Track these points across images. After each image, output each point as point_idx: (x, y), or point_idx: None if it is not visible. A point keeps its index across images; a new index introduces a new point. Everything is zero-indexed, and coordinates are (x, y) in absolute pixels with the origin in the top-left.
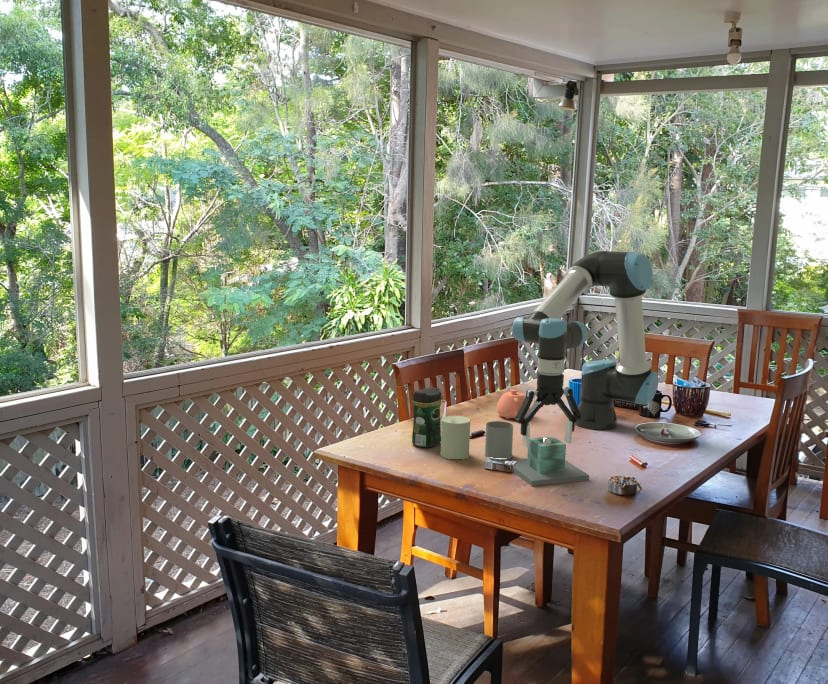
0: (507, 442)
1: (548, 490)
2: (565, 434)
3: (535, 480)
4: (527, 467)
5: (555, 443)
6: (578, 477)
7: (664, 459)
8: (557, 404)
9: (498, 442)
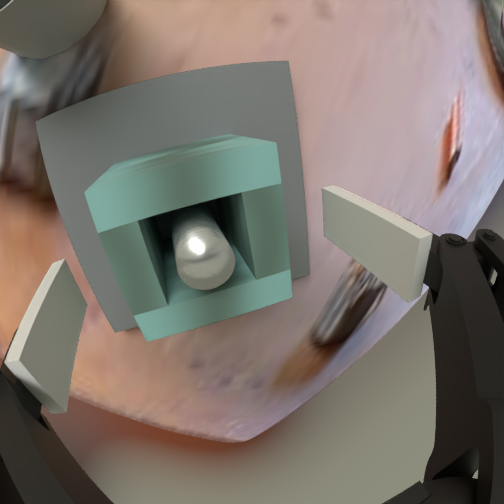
0: (46, 25)
1: (160, 345)
2: (346, 207)
3: (125, 328)
4: None
5: (241, 290)
6: None
7: (482, 141)
8: (477, 392)
9: (3, 44)
